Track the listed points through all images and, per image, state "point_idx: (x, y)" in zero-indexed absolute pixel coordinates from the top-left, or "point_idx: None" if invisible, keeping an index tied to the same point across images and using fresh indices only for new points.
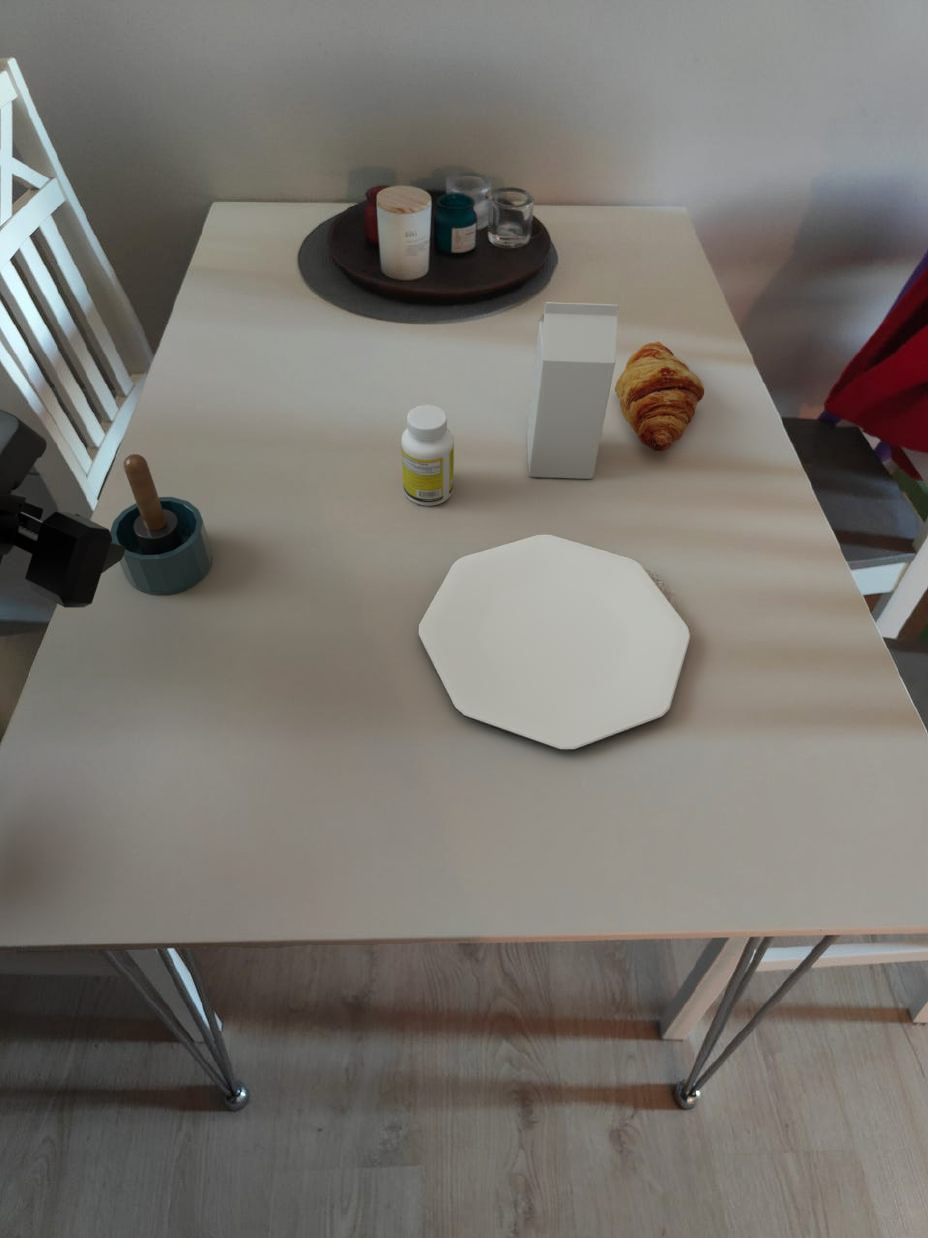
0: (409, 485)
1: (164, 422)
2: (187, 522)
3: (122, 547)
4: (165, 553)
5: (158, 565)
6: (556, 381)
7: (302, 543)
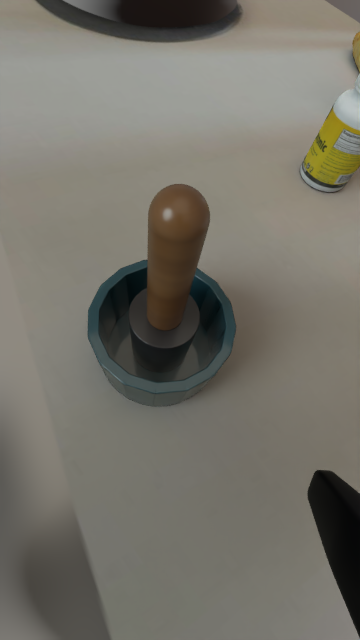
0: (331, 172)
1: (15, 169)
2: None
3: (351, 488)
4: (215, 360)
5: (208, 381)
6: None
7: (273, 265)
